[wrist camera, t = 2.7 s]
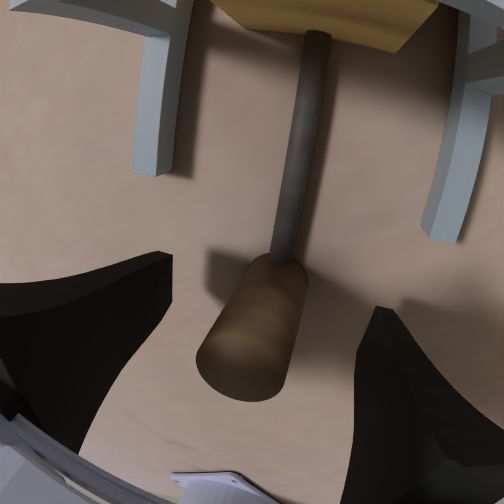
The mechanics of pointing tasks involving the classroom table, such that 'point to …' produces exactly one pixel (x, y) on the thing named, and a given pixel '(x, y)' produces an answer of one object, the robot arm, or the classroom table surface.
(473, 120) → the shelf
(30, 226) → the classroom table surface
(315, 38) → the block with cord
